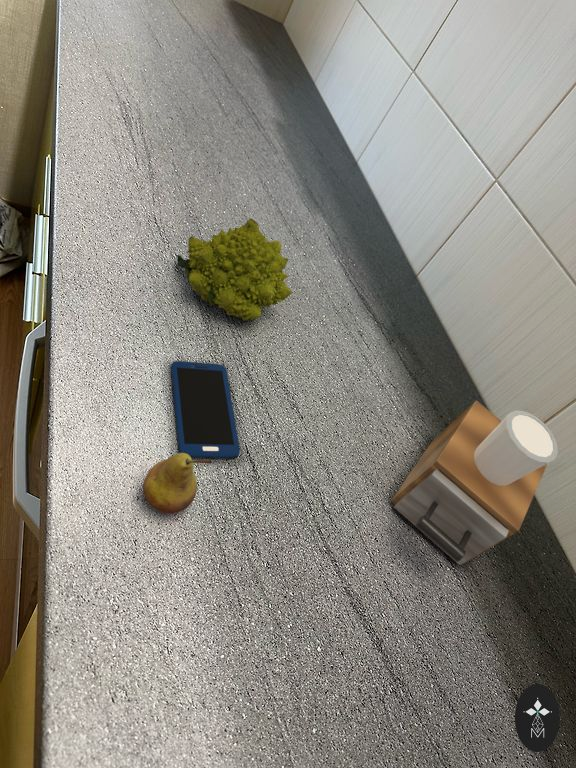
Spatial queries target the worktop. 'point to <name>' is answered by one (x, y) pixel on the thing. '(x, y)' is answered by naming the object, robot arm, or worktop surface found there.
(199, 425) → the cell phone
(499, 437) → the white cup
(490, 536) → the drawer
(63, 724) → the worktop surface
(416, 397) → the worktop surface
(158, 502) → the fruit
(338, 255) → the worktop surface
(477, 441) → the cabinet
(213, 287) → the vegetable
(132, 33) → the worktop surface
